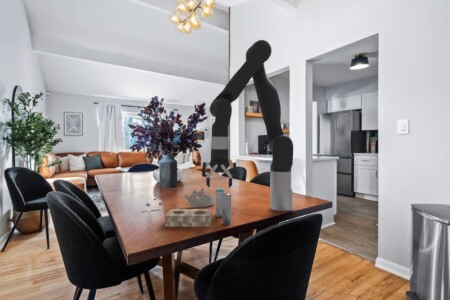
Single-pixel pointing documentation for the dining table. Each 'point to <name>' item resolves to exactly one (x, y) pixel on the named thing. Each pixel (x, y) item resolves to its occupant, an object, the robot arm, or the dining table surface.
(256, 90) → the robot arm
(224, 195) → the round bit
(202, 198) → the grey spiky piece
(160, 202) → the diorama
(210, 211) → the socket block
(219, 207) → the square bit
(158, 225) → the dining table surface
